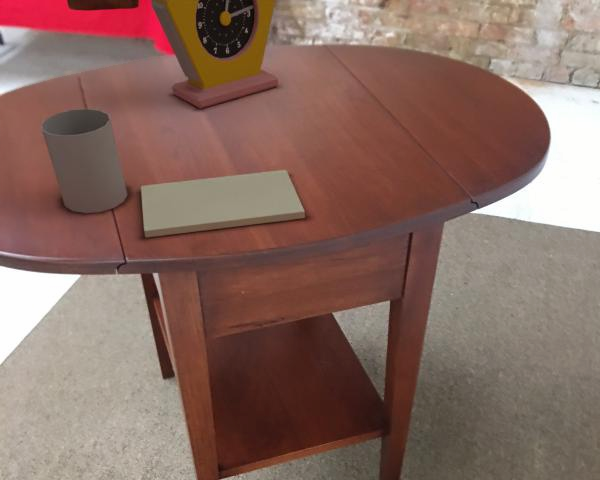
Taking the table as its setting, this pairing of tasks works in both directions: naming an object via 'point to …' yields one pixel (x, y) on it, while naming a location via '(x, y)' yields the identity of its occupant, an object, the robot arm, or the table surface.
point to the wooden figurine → (102, 4)
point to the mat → (219, 203)
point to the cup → (85, 159)
